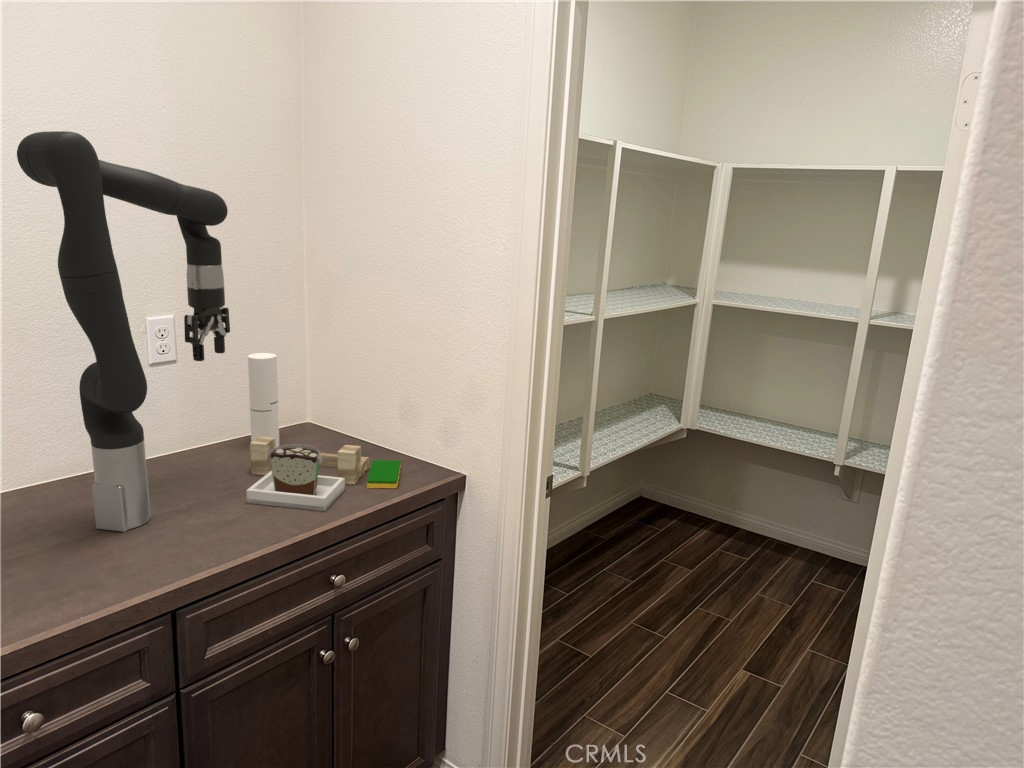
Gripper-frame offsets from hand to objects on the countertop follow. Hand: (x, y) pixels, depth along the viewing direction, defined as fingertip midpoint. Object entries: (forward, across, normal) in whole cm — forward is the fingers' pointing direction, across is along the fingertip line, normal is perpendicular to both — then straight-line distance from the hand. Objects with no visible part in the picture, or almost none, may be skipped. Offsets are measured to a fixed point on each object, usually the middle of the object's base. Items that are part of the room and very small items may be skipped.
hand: (209, 356), depth 157 cm
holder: (+30, -11, +19) cm, 37 cm away
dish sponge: (+31, -12, +37) cm, 50 cm away
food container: (+29, +2, +22) cm, 37 cm away
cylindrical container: (+30, -25, 0) cm, 39 cm away
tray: (+30, +4, +22) cm, 37 cm away
